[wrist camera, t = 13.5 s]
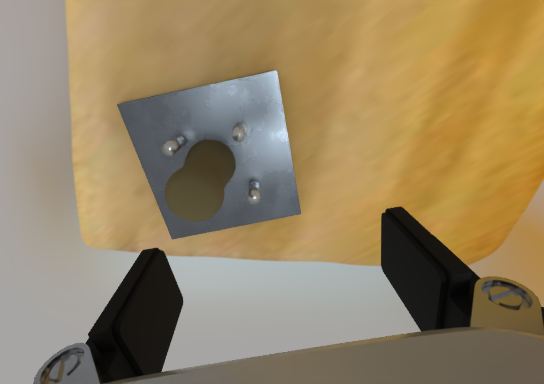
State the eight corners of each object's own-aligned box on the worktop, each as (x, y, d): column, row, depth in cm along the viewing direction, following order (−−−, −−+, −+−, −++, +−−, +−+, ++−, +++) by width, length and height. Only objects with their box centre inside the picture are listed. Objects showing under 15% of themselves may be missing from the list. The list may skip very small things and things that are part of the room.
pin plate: (121, 103, 30) (96, 107, 25) (275, 70, 30) (279, 68, 25) (174, 234, 37) (162, 257, 33) (299, 209, 37) (306, 229, 32)
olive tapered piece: (246, 164, 33) (241, 202, 23) (213, 195, 34) (194, 244, 24) (209, 128, 31) (186, 152, 21) (175, 163, 32) (138, 201, 22)
